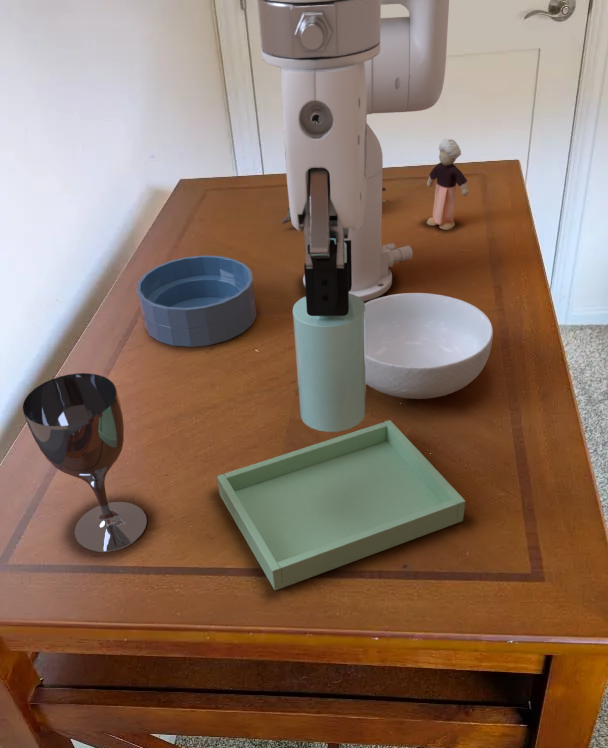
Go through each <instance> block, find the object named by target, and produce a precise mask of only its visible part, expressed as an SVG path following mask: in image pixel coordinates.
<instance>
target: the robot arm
mask: <svg viewBox="0 0 608 748" xmlns="http://www.w3.org/2000/svg"><path fill="white" fill-rule="evenodd" d="M256 2H257V12H258V13H257V14H258V25H259V36H260V49H261V50H260V51H261V59H262V61H263V62H264V63H265V64H267V65H270V66H273V67H276V68H279V72H280V92H281V110H282V128H283V144H284V145H283V146H284V158H285V160H284V161H285V173H286V183H287V196H288V206H289V207H290V215H291V221H290V222H291V225H292V227H293V228H295V229H296V231H298V232H303V235H304V257H305V263H304V265H303V269H304V274H303V276H302V283H303V287H304V288H305V289H304V290H305V296H306V306H307V313H308V315H310V316H345V315H347V314H348V311H349V293H350V294H353V295H355V296H357V297H359V298H360V299H362V301H363V302H364V303H366V302H369V301H372V300H374V299H377V298H380V297H381V296H382V295H384V294H385V293H387V292H388V291H389V290H390V288H391V286H392V283H393V274H392V271H391V269H390V268H392V267H393V266H394V264H397V263H404V262H407V261H411V260H412V259H413V257H414V254H413V249H412V247H411V245H405V246H402V247H396V244H395V243H393V242H392V243H388V244H384V245H382V240H383V239H382V235H383V233H382V232H383V204H382V201H383V191H382V187H383V169H384V168H383V165H384V164H383V159H384V157H383V155H384V154H383V149H382V146H381V143H380V140H379V139H378V136H377V135H376V134H375V132H374V131H373V129H372V128H371V126H370V125H369V124H368V122H367V115H372V114H390V113H391V114H392V113H409V112H420V111H425V110H428V109H430V108H433V106H435V105H436V104H437V102H438V101H439V99H440V97H441V95H442V92H443V89H444V83H445V75H446V65H447V50H448V49H447V47H448V45H447V44H448V30H449V29H448V28H449V27H448V26H449V14H450V13H449V11H450V10H449V9H450V0H257V1H256ZM384 5H386V6H387V5H401V6H403V7H404V8H405V9H406V10H407V12H408V14H409V15H408V16H396V17H395V16H394V17H381V12H382V11H381V10H382V9H381V6H384ZM289 207H288V208H289ZM302 230H303V231H302ZM330 238H335V239H336V244H335V242H334V240H330ZM344 242H345V243H346V245H347V263H344Z"/></svg>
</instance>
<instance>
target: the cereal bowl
mask: <svg viewBox="0 0 608 748" xmlns="http://www.w3.org/2000/svg"><path fill="white" fill-rule="evenodd" d="M364 303H365V307H366V386H368V387H370V388H372V389H373V390H375V391H378V392H379V393H382V394H385V395H388V396H391V397H397V398H402V399H411V400H427V399H433V398H440V397H444V396H447V395H450V394H453V393H456V392H458V391H460V390H462V389H464V388H465V387H467V386H468V385H469V384H470V383H472V382H473V381H474V380H475V379H476V378H477V377H478V376H479V375H480V374H481V372H482V371H483V369H484V367H485V366H486V365H487V361H488V360H489V356H490V353H491V349H492V343H493V337H494V329H493V325H492V322H491V321H490V318H489V317H488V316H487V315H486V313H484V311H482V310H481V309H479V308H478V307H476V306H475V305H473V304H471V303H469V302H467V301H464V300H462V299H459V298H456V297H452V296H448V295H443V294H437V293H429V292H428V293H426V292H408V293H407V292H405V293H396V294H389V295H386V296H382V297H381V296H380V297H377V298H375V299H372V300H369V301H366V302H364Z"/></svg>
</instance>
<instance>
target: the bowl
mask: <svg viewBox="0 0 608 748" xmlns="http://www.w3.org/2000/svg"><path fill="white" fill-rule="evenodd" d="M136 295H137V299H138V303H139V308H140V313H141V316H142V321H143V326H144V329H145V330H146V332H147V334H148V335H149V336H150V337H151V338H152V339H154V340H155V341H158V342H159V343H161V344H166V345H169V346H175V347H187V348H188V347H189V348H196V347H205V346H213V345H216V344H219V343H223V342H226V341H229V340H231V339H233V338H235V337H238V336H239V335H242V334H243V333H244V332H246V331H247V330H248V329H249V328H251V326H252V325H253V324H254V322H255V320H256V318H257V316H258V314H257V313H258V312H257V305H256V296H255V287H254V277H253V271H252V270H251V269H250V268H249V266H247V264H245V263H244V262H241V261H239V260H237V259H235V258H232V257H227V256H221V255H194V256H185V257H181V258H177V259H173V260H169V261H166V262H163V263H162V264H159V265H157V266H154V267H153V268H151V269H150V270H149V271H147V272H145V273H144V274H143V275H142V276H141V278H140V279H139V280H138V281H137V283H136Z"/></svg>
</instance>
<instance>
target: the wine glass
mask: <svg viewBox="0 0 608 748" xmlns="http://www.w3.org/2000/svg"><path fill="white" fill-rule="evenodd" d="M22 411H23V416H24V418H25V421H26V423H27V426H28V428H29V430H30V433H31V436H32V437H33V439H34V441H35V443H36V444H37V446H38V448H39V449H40V452H41V453H42V454H43V455H44V457H45V458H46V460H47V461H49V463H50V464H51V466H53V467H54V468H55V469H57V470H58V471H60V472H62V473H64V474H66V475H68V476H72V477H75V478H77V479H80V480H82V481H83V482H85V483H87V484H88V485H89V486H90V488H91V489H92V492H93V493H94V496H95V497H96V499H97V502H98V504H99V505H97V506H95V507H94V508H91V509H90V510H88V511H87V512H86V513H84V515H82V516H81V517H80V518H79V520H78V521H77V523H76V525H75V528H74V539H75V540H76V542H77V544H78V545H80V546H81V547H82V548H83V549H86V550H88V551H91V552H96V553H109V552H115V551H119V550H121V549H124V548H126V547H129V546H130V545H132V544H133V543H135V542H136V541H137V540H138V539H140V538H141V536H142V535H143V534H144V532H145V531H146V529H147V526H148V518H147V514H146V513H145V511H144V510H143V509H142V508H141V507H140V506H138V505H136V504H134V503H130V502H125V501H113V502H108V498H107V491H106V485H105V481H106V476H107V474H108V473H109V471H110V469H111V468H112V467H113V465H114V464H115V463H116V462H117V460H118V459H119V456H120V455H121V453H122V450H123V447H124V442H125V441H124V440H125V439H124V438H125V426H124V415H123V409H122V405H121V401H120V397H119V394H118V389H117V388H116V385H115V384H114V382H113V381H112V380H111V379H110V378H107V377H106V376H103V375H99V374H95V373H89V372H87V373H86V372H82V373H71V374H65V375H60V376H58V377H54V378H51V379H49V380H47V381H45V382H43V383H41V384H40V385H38V386H36V387H35V388H33V389H32V390H31V392H29V393H28V395H26V397H25V399H24V401H23V403H22Z"/></svg>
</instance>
